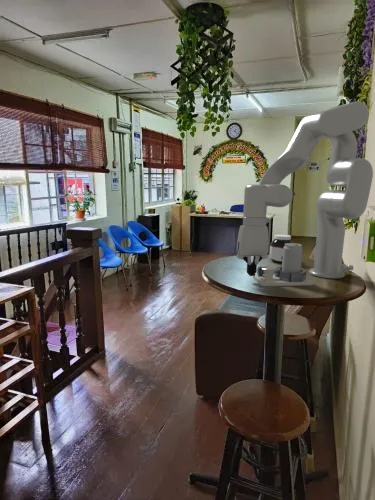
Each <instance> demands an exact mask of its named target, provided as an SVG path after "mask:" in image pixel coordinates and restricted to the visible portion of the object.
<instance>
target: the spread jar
mask: <svg viewBox="0 0 375 500" xmlns="http://www.w3.org/2000/svg"><path fill="white" fill-rule="evenodd" d="M273 238H274V239H273V240H272V241H271V243H270V244H269V259H270V260H271V261H272V263H276V264H281V265H282V260H283V247H284V246H285V244H286V243H293V241H292V240H291V238H292V236H291V235H289V234H274V237H273Z"/></svg>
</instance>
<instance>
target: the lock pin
mask: <svg viewBox="0 0 375 500" xmlns="http://www.w3.org/2000/svg"><path fill="white" fill-rule="evenodd" d="M265 269H272V270H273V275H280V271H281V269H280V268H277V267H275V268H274V267H273V268H269V267H268V268H265ZM265 269H262V268H261V267H260V266H257V271H256V273H257V274H256V275H258V277H261V276H262V275H265Z"/></svg>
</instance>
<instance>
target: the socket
mask: <svg viewBox="0 0 375 500" xmlns="http://www.w3.org/2000/svg"><path fill="white" fill-rule="evenodd" d="M276 268H280V269H281V271H280V275H275V277H278V276H280V278H279V280H282V281H287V282H302V281H304V280H306V278H307V271H308V270H306V269H304V268H302V267H301V272H300V273H290V272H284V271H282V265H280V266H277V267H276Z"/></svg>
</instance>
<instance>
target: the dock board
mask: <svg viewBox="0 0 375 500" xmlns="http://www.w3.org/2000/svg"><path fill="white" fill-rule="evenodd" d="M259 267H261V268H262V269H265V268H269V267H268V265H266V264H265V265H263V264H262V265H259ZM251 277H252V279H253V280H254V281H255V282H256V283H257V284H259V285H260V286H261V287H281V286H282V287H287V286H292V287H293V286H314V281H312V280H311V279H309V278H308V277H306V280H304V281H302V282H287V281H282V280H279V278H280V276H278V277H275V275H273V270H272V269H265V275H262V276H261V277H258V275H257V274H255V276H251Z"/></svg>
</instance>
